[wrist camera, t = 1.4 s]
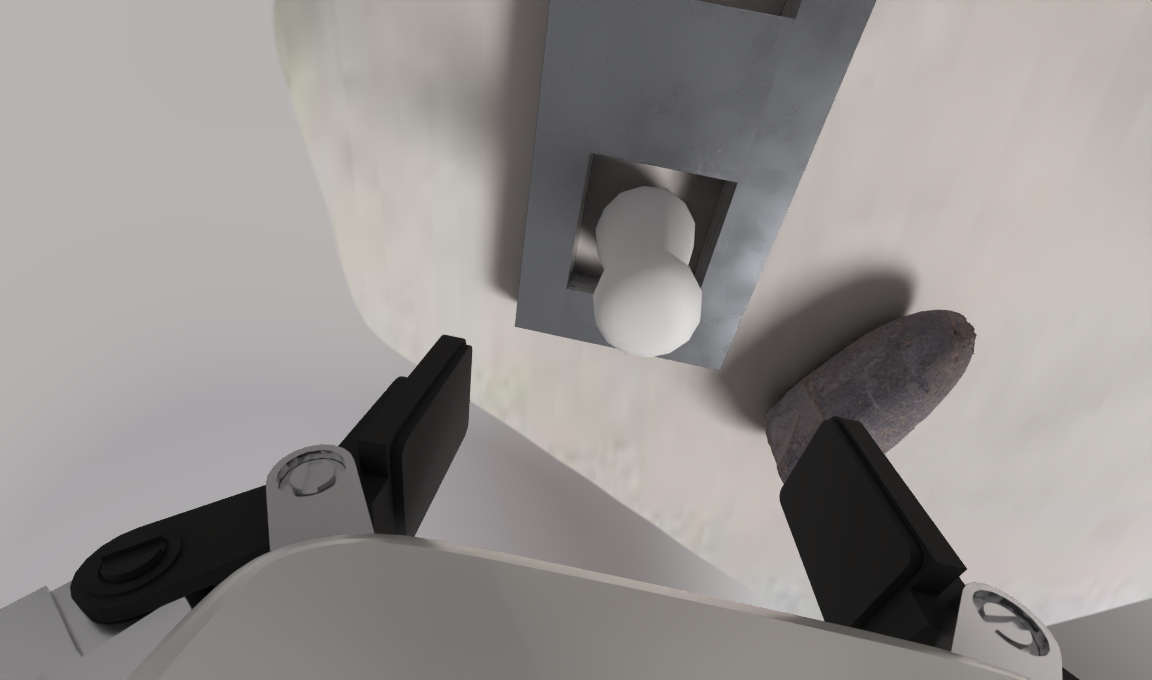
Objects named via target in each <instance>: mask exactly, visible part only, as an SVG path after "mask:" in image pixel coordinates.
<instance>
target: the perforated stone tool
mask: <svg viewBox="0 0 1152 680" xmlns="http://www.w3.org/2000/svg"><path fill="white" fill-rule="evenodd" d="M966 319H967V318H965V317H964V316H963V315H961V314H960V313H956V312H953V311H948V310H930V311H921V312H918V313H915V314H911V315H908V316H904V317H901V318H898V319H895V320H893V321H890V322H888V323H886V324H884V325H882V326H880V327H878V328H876V329H874V330H872V331H870V332H868V333H867V334H865V335H863V336H862V337H860V338H858V339H857V340H855V341H854V342H853V343H851V344H849V345H848V346H847V347H845V348H844V349H843V350H842V351H840V352H839V353H838V354H836V355H834V356H833V357H831V358H830V359H828V360H827V361H826V362H825V363H823V364H822V365H821V366H819V367H818V368H817V369H815V370H814V371H813V372H811V373H810V374H809V375H807V376H806V377H804V378H803V379H802V380H800V381H799V382H798V383H797V384H796V386H794V387H792V388H791V389H790V390H788V391H787V392H786V394H785V396H784V397H783V398H782V399H781V400H779V401H778V402H777V403H776V404H774V406H773V407H772V408H771V409H770V410H769V411H768V412H767V414H766V417H767V426H766V436H767V439H768V443H769V445H770V447H771V450H772V453H773V456H774V458H775V461H776V463H777V470H778V474H779V476H780V478H781V480H782V482H783V483H785V482H786V480H787V478H788V477H789V475H790V474H791V472H792V470H793V469H794V467H795V465H796V464H797V462H798V460H799V459H800V457H801V456H802V454H803V452H804V451H805V449H806V447H807V446H808V444H809V442H810V441H811V439H812V437H813V436H814V434H815V433H816V431H817V429H818V428H819V426H820V424H821V423H822V422H823V421H824V420H829V419H830V418H831V417H833V416H839V417H843V418H848V419H853V420H857V421H860V422H861V423H862V424H863V426H864V427H865V428H866V430H867V431H868V432H869V434H870V435H871V437H872V438H873V439H874V441H875V442H876V444H877V445H878V446H879V448H880V449H881V450H882V452H883V453H884V454H885V453H886V452H888V451H889V450H890V449H891V448H893V447H894V446H895V445H897V444H898V443H899V441H901V440H902V439H903V438H904V437H905V436H907V435H908V434H909V433H910V432H911V431H912V430H913V429H914V427H915V426H916V425H917V424H918V423H920V422H921V421H922V420H924V419H925V418H926V417H927V416H928V415H929V414H930V413H931V412H932V411H933V410H934V409H935V408H936V406H938V404H939V403H940V402H941V401H942V400H943V399H944V398H945V397H946V396H947V395H948V393H949V392H950V391H951V390H952V389H953V388H954V386H955V385H956V384H957V382H958V381H959V379H960V378H961V377H962V375H963V373H964V372H965V370H966V368H967V366H968V364H969V362H970V359H971V356H972V354H974V353H973V352H974V344H975V338H976V335H977V334H975V333H974V328H973V326H972V325H971V324H970V323H968V322H967V321H966Z"/></svg>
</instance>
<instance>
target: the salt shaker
mask: <svg viewBox="0 0 1152 680" xmlns="http://www.w3.org/2000/svg"><path fill="white" fill-rule="evenodd" d="M595 232H596V243H597V252H598V255H599V258H600V260H601V263H602V266H603V269H604V271H603V274H602V276H601V278H600V280H599V283H598V285H597V287H596V289H595V292H594V294H593V303H594V314H595V321H596V325H597V327H598V328H599V330H600V331H601V333H602V335H603V336H604V338H605V340H606V341H607V342H608V343H609V344H611V345H612V346H614V347H616V348H617V349H619V350H620V351H622V352H624V353H625V354H630V355H635V356H641V357H646V358H649V357H654V356H658V355H663V354H668V353H671V352H672V351H674V350H675V349H677V348H678V347H680V346H681V345H683V344H684V343H686V342H687V341H689V339H690V338H691V336H692V334H693V333H694V331H695V329H696V327H697V326H698V324H699V322H700V317H701V303H702V291H701V289H700V287H699V285H698V283H697V281H696V279H695V277H694V275H693V273H692V271H691V269H690V267H689V266H688V265H689V261H690V258H691V254H692V251H693V247H694V234H695V222H694V220H693V218H692V216H691V214H690V212H689V210H688V208H687V206H686V204H685V203H684V202H683V201H682V200H681V199H679V198H678V197H677V196H675V195H674V194H673V193H672V192H670V191H669V190H668V189H665V188H657V187H649V186H641V187H637V188H634V189H631V190H627V191H624V192H621V193H620V194H619V195H617V196H616V197H615V198H614V199H613V200H612V201H611V202H610V203H609V204H608V205H607V206H606V207H605V208H604V210H603V212H602V214H601V217H600V219H599V222H598V224H597V227H596V229H595Z"/></svg>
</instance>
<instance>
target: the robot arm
mask: <svg viewBox="0 0 1152 680" xmlns="http://www.w3.org/2000/svg"><path fill="white" fill-rule="evenodd" d="M471 365H472V346H470V345H466V340H465V339H463V338H458V337H453V336H449V335H442V336H441V337H440V338H439V340H438V341H437V342H436V343H435V345H434V346H433V347H432V348H431V349H430V351H429V352H428V353H427V354H426V356H425V357H424V358H423V359H422V360H421V362H420V363H419V364H418V365H417V367H416V368H415V369H414V370H413V371H412V373H411V374H410V375H409V376H408V378H407V377H403V376H402V377H398V378H397V379H396V380H395V381H394V382H393V383H392V384H391V385H390V386H389V387H388V389H387V390H386V391H385V392H384V393H383V395H382V396H381V397H380V398H379V399H378V400H377V402H376V403H375V404H374V405H373V406H372V407H371V409H370V410H369V411H368V412H367V413H366V415H364V417H363V418H362V419H361V420H360V421H359V423H358V424H357V425H356V426H355V427H354V428H353V429H352V431H351V432H350V433H349V434H348V435H347V436H346V438H345V439H344V440H343V441H342V442H341V444H340V445H339V446H335V445H322V444H321V445H314V446H309V447H305V448H302V449H299V450H297V451H295V452H293V453H291V454H289V455H287V456H285V457H284V458H282V459H281V460H280V461H279V462H278V463H277V464H276V465H275V466H273V468H272V470H271V471H270V473H269V474H268V476H267V481H266V485H265V486H261V487H258V488H255V489H252V490H249V491H247V492H243V493H240V494H237V495H234V496H231V497H228V498H225V499H222V500H219V501H216V502H213V503H210V504H208V505H204V506H202V507H199V508H196V509H193V510H190V511H187V512H184V513H181V514H178V515H175V516H172V517H169V518H166V519H163V520H160V521H157V522H154V523H151V524H148V525H145V526H142V527H139V528H136V529H134V530H132V531H129V532H127V533H124V534H122V535H120V536H118V537H116V538H115V539H113V540H112V541H110V542H108V543H106V544H105V545H103V546H102V547H100V548H99V549H98V550H97V551H95V552H94V553H93V554H92V555H91V556H90V557H88V558H87V559H86V560H85V562H84V563H83V564H82V565H81V566H80V568H79V569H78V570H77V572H76V573H75V575H74V577H73V580H72V581H70V582H68V583H66V584H64V585H63V586H61V587H59V588H57V589H55V590H53V591H50V590H49V588H48V587H47V586H45V587H42V588H40V589H39V590H37V591H35V592H33V593H31V594H29V595H27V596H25V597H23V598H21V599H19V600H17V601H15V602H14V603H11V604H10V605H8V606H6V607H4V608H2V609H0V680H125V679H126V680H1079V679H1078V678H1076V677H1075V676H1074V675H1072V674H1071V673H1069V672H1068V671H1067V670H1065V669H1064V668H1063V667H1062V657H1061V653H1060V649H1059V645H1058V644H1057V642H1056V640H1055V639H1054V637H1053V635H1052V634H1051V632H1050V631H1049V630H1048V629H1047V628H1046V626H1045V625H1044V624H1043V623H1042V622H1041V621H1040V619H1039V618H1037V617H1036V616H1035V615H1034V614H1033V613H1032V612H1031V611H1030V610H1029V609H1028V608H1026V607H1025V606H1024V605H1023V604H1021V603H1020V602H1018V601H1017V600H1016V599H1014V598H1013V597H1012V596H1010V595H1008V594H1006V593H1004V592H1003V591H1001V590H999V589H997V588H995V587H992V586H990V585H987V584H984V583H977V582H972V583H969V584H966V585H964V583H963V582H962V580H961V579H960V577H959V576H960V575H961V574H962V573H963V572H964V571H966V570H967V568H966V567H965V565H964V564H963V563H962V561H961V560H960V558H959V557H958V556H957V554H956V553H955V552H954V550H953V549H952V547H951V546H950V545H949V543H948V542H947V540H946V539H945V538H944V536H943V535H942V534H941V532H940V531H939V529H938V528H937V527H936V525H935V524H934V522H933V521H932V520H931V518H930V517H929V516H928V514H927V513H926V511H925V510H924V509H923V507H922V506H921V504H920V503H919V502H918V500H917V499H916V498H915V496H914V495H913V493H912V492H911V491H910V489H909V488H908V486H907V485H906V484H905V482H904V481H903V480H902V478H901V477H900V475H899V474H898V473H897V471H896V470H895V468H894V467H893V466H892V464H891V463H890V462H889V460H888V459H887V457H886V456H885V455H884V453H883V452H882V450H881V449H880V448H879V446H878V445H877V444H876V442H875V441H874V439H873V438H872V437H871V435H870V434H869V432H868V431H867V430H866V428H865V427H864V426H863V424H862V423H861V422H860V421H857V420H853V419H848V418H843V417H839V416H833V417H831V418H830V419H829V420H824V421H823V422H822V423H821V424H820V426H819V428H818V429H817V431H816V433H815V434H814V436H813V437H812V439H811V441H810V442H809V444H808V446H807V447H806V449H805V451H804V452H803V454H802V456H801V457H800V459H799V460H798V462H797V464H796V465H795V467H794V469H793V470H792V472H791V474H790V475H789V477H788V478H787V480H786V482H785V483H784V485H783V487H782V489H781V491H780V503H781V506H782V508H783V511H784V514H785V516H786V519H787V522H788V525H789V527H790V530H791V533H792V535H793V538H794V541H795V543H796V546H797V549H798V551H799V554H800V557H801V559H802V562H803V565H804V567H805V570H806V573H807V575H808V578H809V581H810V583H811V586H812V589H813V591H814V594H815V597H816V599H817V602H818V605H819V607H820V610H821V613H822V615H823V618H824V621H825V622H824V621H820V620H815V619H811V618H806V617H802V616H797V615H793V614H788V613H784V612H779V611H775V610H770V609H765V608H761V607H756V606H752V605H747V604H743V603H738V602H733V601H728V600H724V599H719V598H715V597H710V596H706V595H701V594H696V593H692V592H687V591H682V590H677V589H673V588H668V587H664V586H659V585H654V584H650V583H645V582H640V581H636V580H631V579H626V578H622V577H617V576H612V575H607V574H603V573H598V572H593V571H588V570H584V569H579V568H574V567H569V566H565V565H560V564H555V563H550V562H545V561H541V560H536V559H531V558H526V557H522V556H517V555H512V554H507V553H502V552H496V551H491V550H486V549H481V548H476V547H471V546H465V545H460V544H455V543H449V542H444V541H439V540H432V539H424V538H418V537H414V536H415V534H416V532H417V530H418V528H419V526H420V524H421V522H422V520H423V518H424V516H425V514H426V512H427V510H428V508H429V506H430V504H431V502H432V500H433V498H434V496H435V494H436V492H437V490H438V488H439V486H440V484H441V482H442V480H443V478H444V476H445V474H446V472H447V470H448V468H449V467H450V464H451V462H452V461H453V459H454V456H455V454H456V453H457V451H458V448H459V446H460V445H461V442H462V441H463V439H464V437H465V434H466V431H467V427H468V420H469V402H470V383H471Z"/></svg>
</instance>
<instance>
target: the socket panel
mask: <svg viewBox="0 0 1152 680" xmlns="http://www.w3.org/2000/svg"><path fill="white" fill-rule="evenodd" d="M875 2H876V0H786V2H785V5H784V8H783V11H782V14H781V16H777V15H772V14H767V13H761V12H756V11H751V10H746V9H740V8H735V7H730V6H724V5H719V4H714V3H709V2H703V1H698V0H550V3H549V13H548V22H547V31H546V41H545V50H544V59H543V69H542V78H541V87H540V97H539V106H538V115H537V125H536V134H535V143H534V153H533V162H532V171H531V181H530V190H529V199H528V209H527V218H526V227H525V237H524V246H523V255H522V265H521V274H520V283H519V293H518V302H517V311H516V321H515V327H519V328H524V329H529V330H533V331H538V332H543V333H547V334H552V335H557V336H561V337H566V338H571V339H575V340H580V341H585V342H589V343H594V344H599V345H603V346H608V347H613V348H616V347H614V346H612V345H611V344H609V343H608V342H607V341H606V340H605V338H604V336H603V335H602V333H601V331H600V330H599V328H598V327H597V325H596V321H595V314H594V303H593V294H594V292H595V289H596V287H597V285H598V283H599V280H600V277H595V276H591V275H586V274H581V273H576V272H573V268H574V263H575V257H576V251H577V245H578V240H579V234H580V228H581V223H582V217H583V211H584V206H585V200H586V194H587V188H588V183H589V177H590V171H591V166H592V160H593V154H598V155H603V156H608V157H613V158H618V159H623V160H628V161H633V162H638V163H643V164H648V165H653V166H658V167H663V168H668V169H673V170H678V171H683V172H688V173H693V174H698V175H703V176H707V177H712V178H717V179H722V180H726V181H725V184H724V187H723V190H722V193H721V195H720V198H719V201H718V204H717V207H716V210H715V213H714V216H713V219H712V222H711V225H710V228H709V231H708V234H707V237H706V240H705V243H704V246H703V249H702V252H701V255H700V258H699V261H698V264H697V267H696V270H695V273H694V277H695V279H696V281H697V283H698V285H699V287H700V289H701V291H702V303H701V317H700V322H699V324H698V326H697V327H696V329H695V331H694V333H693V334H692V336H691V338H690V339H689V341H687V342H686V343H684V344H683V345H681V346H680V347H678V348H677V349H675V350H674V351H672V352H671V353H668V354H663V355H658V356H655V357H659V358H664V359H669V360H673V361H678V362H683V363H687V364H692V365H697V366H701V367H706V368H711V369H715V370H720V369H721V366H722V364H723V362H724V359H725V357H726V355H727V352H728V350H729V348H730V345H731V343H732V340H733V338H734V336H735V333H736V331H737V329H738V326H739V324H740V321H741V319H742V317H743V314H744V312H745V310H746V307H747V305H748V303H749V300H750V298H751V295H752V293H753V291H754V288H755V286H756V284H757V281H758V279H759V277H760V274H761V272H762V269H763V267H764V265H765V262H766V260H767V258H768V255H769V253H770V251H771V248H772V246H773V243H774V241H775V239H776V236H777V234H778V232H779V229H780V227H781V225H782V222H783V220H784V217H785V215H786V213H787V210H788V208H789V206H790V203H791V201H792V199H793V196H794V194H795V191H796V189H797V187H798V184H799V182H800V180H801V177H802V175H803V172H804V170H805V168H806V165H807V163H808V161H809V158H810V156H811V154H812V151H813V149H814V146H815V144H816V142H817V139H818V137H819V135H820V132H821V130H822V128H823V125H824V123H825V120H826V118H827V116H828V113H829V111H830V109H831V106H832V104H833V102H834V99H835V97H836V94H837V92H838V90H839V87H840V85H841V83H842V80H843V78H844V76H845V73H846V71H847V68H848V66H849V64H850V61H851V59H852V57H853V54H854V52H855V50H856V47H857V45H858V42H859V40H860V38H861V35H862V33H863V31H864V28H865V26H866V24H867V21H868V19H869V16H870V14H871V12H872V9H873V7H874V5H875Z"/></svg>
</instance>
